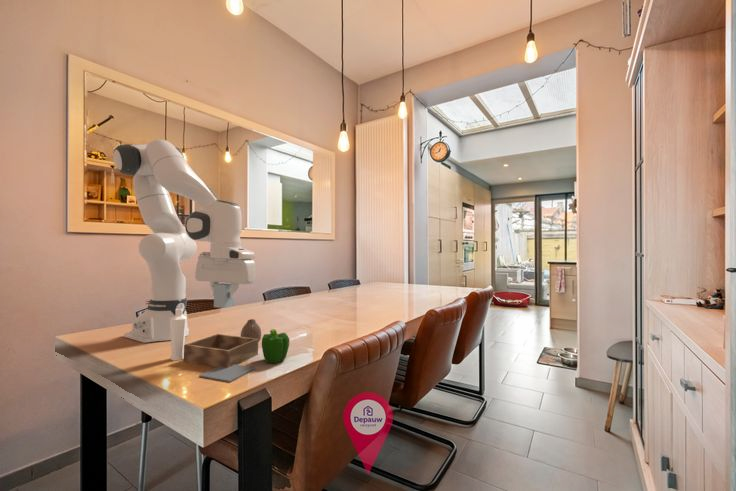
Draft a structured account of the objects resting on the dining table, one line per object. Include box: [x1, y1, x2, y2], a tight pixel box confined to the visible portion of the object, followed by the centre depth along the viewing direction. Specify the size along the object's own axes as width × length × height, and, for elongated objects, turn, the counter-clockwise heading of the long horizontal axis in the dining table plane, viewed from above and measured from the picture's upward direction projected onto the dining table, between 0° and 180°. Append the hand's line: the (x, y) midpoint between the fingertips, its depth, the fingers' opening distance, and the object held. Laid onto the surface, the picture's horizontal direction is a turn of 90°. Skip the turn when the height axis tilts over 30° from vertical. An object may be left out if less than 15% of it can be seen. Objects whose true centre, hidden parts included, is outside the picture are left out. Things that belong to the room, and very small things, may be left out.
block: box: [213, 282, 235, 309], centre depth 101 cm, size 4×4×7 cm
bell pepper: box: [261, 328, 290, 364], centre depth 99 cm, size 8×8×10 cm
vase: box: [240, 318, 262, 343], centre depth 115 cm, size 7×7×9 cm
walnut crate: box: [183, 333, 259, 368], centre depth 100 cm, size 16×14×5 cm
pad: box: [198, 364, 256, 383], centre depth 89 cm, size 10×10×1 cm
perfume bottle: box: [169, 309, 188, 362], centre depth 99 cm, size 5×4×15 cm
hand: (224, 297), depth 101 cm, fingers closed on block, 4 cm apart
